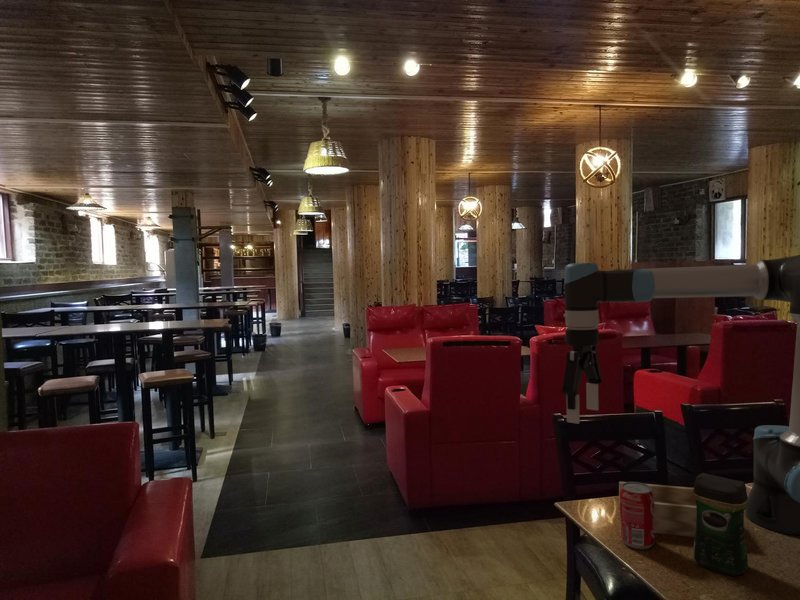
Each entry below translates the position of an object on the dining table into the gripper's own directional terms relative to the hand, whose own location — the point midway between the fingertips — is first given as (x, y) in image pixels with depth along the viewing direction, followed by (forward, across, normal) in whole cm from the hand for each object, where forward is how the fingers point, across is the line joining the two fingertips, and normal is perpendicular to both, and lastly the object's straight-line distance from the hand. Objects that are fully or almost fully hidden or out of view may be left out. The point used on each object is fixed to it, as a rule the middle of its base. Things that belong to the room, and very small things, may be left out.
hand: (583, 415), depth 128 cm
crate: (+27, -13, +16) cm, 34 cm away
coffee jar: (+28, 0, +28) cm, 40 cm away
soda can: (+28, +1, +12) cm, 30 cm away
